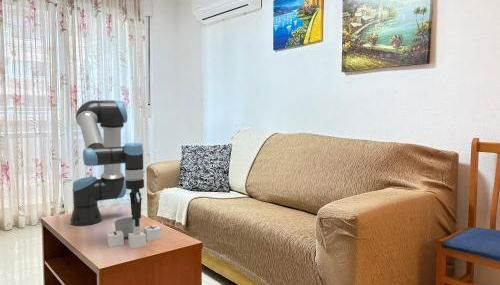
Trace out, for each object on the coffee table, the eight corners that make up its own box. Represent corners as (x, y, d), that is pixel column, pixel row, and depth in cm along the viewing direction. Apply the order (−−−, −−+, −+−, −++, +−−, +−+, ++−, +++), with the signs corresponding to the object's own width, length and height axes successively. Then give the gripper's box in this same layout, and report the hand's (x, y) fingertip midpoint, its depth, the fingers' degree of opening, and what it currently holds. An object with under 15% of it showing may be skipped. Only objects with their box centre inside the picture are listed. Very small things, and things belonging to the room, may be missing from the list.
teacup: (124, 241, 166) (124, 223, 165) (110, 237, 172) (109, 220, 171) (149, 233, 177) (149, 216, 176) (135, 229, 183) (134, 213, 183)
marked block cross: (144, 237, 171) (143, 226, 170) (157, 235, 173) (156, 224, 173) (147, 241, 165) (147, 230, 165) (160, 239, 168) (160, 227, 168)
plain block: (128, 244, 161) (128, 233, 161) (142, 242, 164) (142, 231, 164) (131, 248, 156) (131, 237, 156) (146, 246, 159) (145, 234, 159)
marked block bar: (107, 243, 163) (107, 232, 163) (121, 241, 166) (121, 230, 165) (109, 248, 158) (108, 236, 157) (123, 245, 161) (123, 233, 160)
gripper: (147, 180, 154) (149, 235, 156) (140, 176, 166) (142, 227, 167) (128, 182, 151) (130, 239, 152) (122, 177, 162) (125, 230, 164)
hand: (136, 233), depth 160 cm, fingers closed
